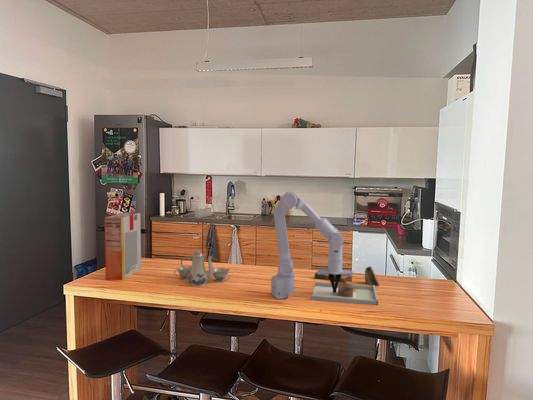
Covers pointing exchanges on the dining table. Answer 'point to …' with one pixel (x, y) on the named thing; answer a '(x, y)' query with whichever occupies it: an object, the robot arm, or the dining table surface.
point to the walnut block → (345, 289)
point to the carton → (326, 277)
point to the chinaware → (200, 270)
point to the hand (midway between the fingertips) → (334, 291)
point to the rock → (371, 276)
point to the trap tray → (362, 297)
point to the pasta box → (122, 245)
